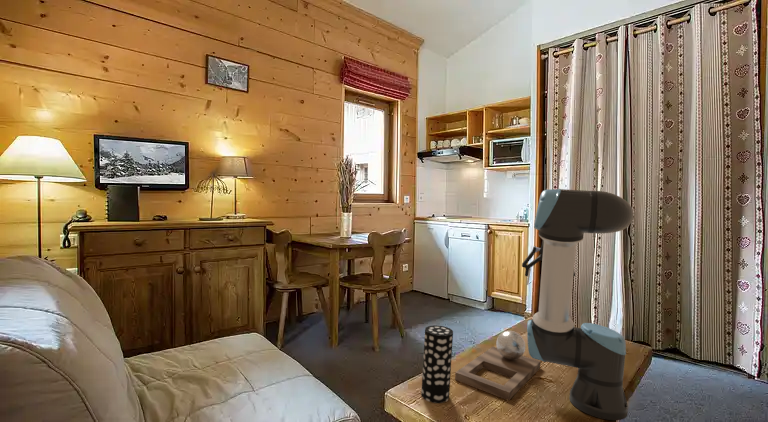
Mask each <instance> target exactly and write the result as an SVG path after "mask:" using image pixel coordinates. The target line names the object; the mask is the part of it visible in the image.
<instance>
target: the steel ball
mask: <svg viewBox="0 0 768 422" xmlns="http://www.w3.org/2000/svg"><path fill="white" fill-rule="evenodd" d="M495 343H496V346H495V347H496V348H497V350H498V352H499V353H500V354H501V355H502V356H503V357H504V358H506V359H509V360H515V359H518V358H520V357H521V356H524V353H525V351H526V342H525V339H524V338H523V336H522V335H521V334H520V333H519V332H516V331H514V330H504V331H503V332H501V333H499V335H498V336H497V338H496V342H495Z"/></svg>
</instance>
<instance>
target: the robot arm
mask: <svg viewBox="0 0 768 422" xmlns="http://www.w3.org/2000/svg"><path fill="white" fill-rule="evenodd" d="M633 218H634V209H633V207H632V206H631V204H630V203H629V202H628V201H627V200H625V199H624V198H622V197H621V196H619V195H618V194H614V193H612V192H608V191H602V190H584V189H583V190H582V189H579V190H578V189H566V188H565V189H563V188H558V189H557V188H556V189H555V188H554V189H544V190H542V192H541V193H540V196H539V199H538V204H537V209H536V213H535V219H534V224H533V228H534V229H535V230H536V231H537V230H538V237H540V239H541V240H542V241H541V246H540V247H537V246H536V245H533V248H532V250H531V251H530V253H529V254H527V256H526V258H525V259H524V260H523V262H522V263H521V267H522V268H525V273H524V277H526V279H527V280H526V285H527V286H529V284H530V277H531V270H532V267H533V266H535V265H536V264H538V263H539V262H541V261H542V262H541V274H540V286H539V298H538V299H539V301H538V311H537V312H536V313H533V316H532V319H529V320H527V322H526V323H527V325H526V327H527V328H526V332H527V333H526V334H527V336H526V337H527V347H528V349H527V350H528V354H529V356H530V358H532V359H535V360H538V361H541V362H544V363H546V362H547V363H551V364H557V365H562V366H565V367H566V366H567V367H571V368H577V375H576V378H575V380H574V382H573V385H572V387H571V388H570V390H569V401H570V403H571V404H572V405H573V406H574V407H575V408H576V409H578V410H579V411H581V412H583V413H584V414H587V415H590V416H592V417H595V418H597V419H603V420H608V421H621V420H625V419H626V418H627V417H628V412H629V405H628V403H627V398H626V394H625V390H624V387H623V384H624V383H623V382H624V375H625V373H624V371H625V361H626V360H625V359H626V355H627V349H626V348H627V347H626V344H627V343H626V340H625V337H624V336H623V335H622V334H620V333H619V332H618V331H616V330H613V329H612V328H610V327H607V326H604V325H601V324H596V323H592V322H583V323H582V324H581V325H580V327H575V322H574V321H573V320H572V318H571V317H570V312H571V304H572V303H571V302H572V293H573V281H574V277H575V276H576V273H575V265H576V264H575V262H576V252H577V245H578V244H579V243H580V242H582V241H583V240H584V234H597V235H598V234H599V235H600V234H611V233H613V234H614V233H618V232H621V231H623V230H625V229H627V228H628V227H629V226H630V225H631V223H632V221H633V220H634V219H633ZM538 252H539V253H540V254H539V256H537V257H536V258H534V259H533V260H532V257H534V255H535V254H536V253H538ZM530 260H532V261H531V262H529V261H530Z"/></svg>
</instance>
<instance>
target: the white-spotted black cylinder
mask: <svg viewBox="0 0 768 422" xmlns="http://www.w3.org/2000/svg"><path fill="white" fill-rule="evenodd" d="M453 340H454V331H453V330H452V329H451V328H450V327H448V326H444V325H433V324H432V325H429V326H426V327H425V329H424V342H423V358H422V359H423V360H422V361H423V362H422V372H421V373H422V376H421V391H420V392H421V394H420V395H421V398H422V399H424V400H425V401H427V402H429V403H432V404H433V403H434V404H443V403H446V402H448V401H449V400H450V389H451V388H450V386H451V373H452V371H451V370H452V357H453V354H452V353H453V342H454V341H453Z"/></svg>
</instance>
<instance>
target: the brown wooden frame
mask: <svg viewBox="0 0 768 422" xmlns="http://www.w3.org/2000/svg"><path fill="white" fill-rule="evenodd" d="M541 362H542V361H541V360H537V359H534V358H532V357H527V356H524V355H522V356H521V357H520V358H518V359H515V360H509V359H506V358H504V357H503V356H502V355H501V354H500V353H499V352H498V350H497V346H491V347H490V348H489V349H487V350H486V351H484V352H483V353H481V354H480V355H479V356H477V357H476V358H474V359H473V360H471V361H469V362H468V363H467V364H465V365H463V367H461V368H459V369H458V370H456V371H455V377H454V379H455V381H458V382H460V383H462V384H465V385H468V386H471V387H473V388H475V389H478V390H480V391H484V392H486V393H487V394H491V395H493V396H496V397H499V398H501V399H504V400H506V401H510V400H511V399H512V398H513V397H514V396H515V395H516V394H517V393H518V392H519V390H521V389H522V388H523V387H524V386H525V385H526V384H527V382H529V380H530V379H531V378H532V377H534V375H535V374H536V373H537V372H538V371H539V370H540V369H541ZM482 369H485V370H488V371H491V372H494V373H497V374H500V375H502V376H504V377H505V376H506V377H508V378H509V379H508V381H506V382H505V383H504V384H501V383H498V382H495V381H493V380H490V379H487V378H485V377H482V376H480V375H477V373H478V372H480V371H481V370H482Z"/></svg>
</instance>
